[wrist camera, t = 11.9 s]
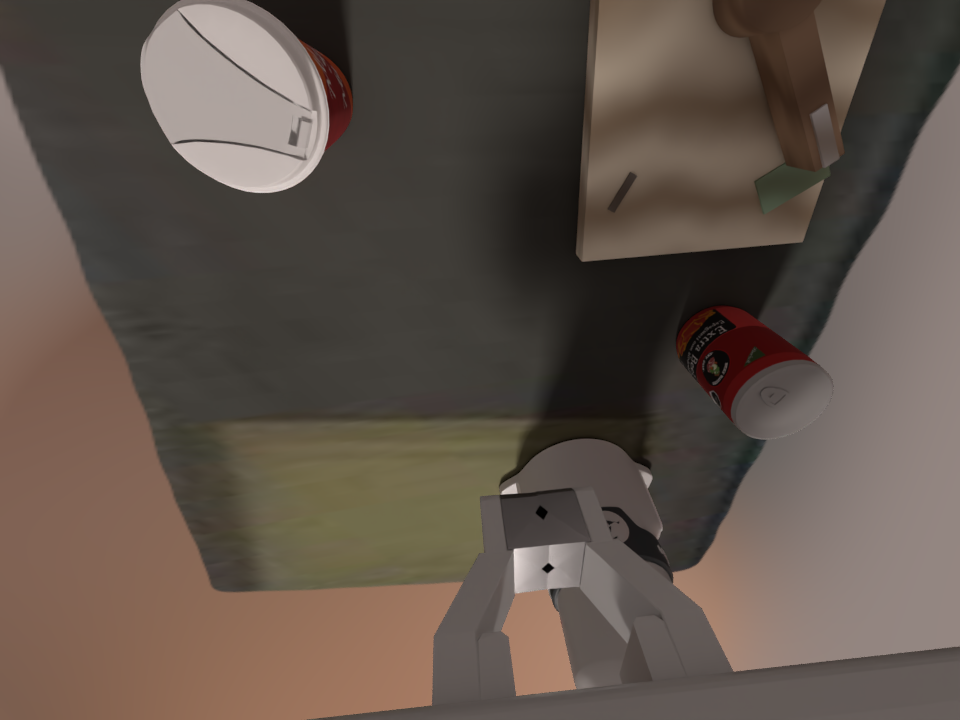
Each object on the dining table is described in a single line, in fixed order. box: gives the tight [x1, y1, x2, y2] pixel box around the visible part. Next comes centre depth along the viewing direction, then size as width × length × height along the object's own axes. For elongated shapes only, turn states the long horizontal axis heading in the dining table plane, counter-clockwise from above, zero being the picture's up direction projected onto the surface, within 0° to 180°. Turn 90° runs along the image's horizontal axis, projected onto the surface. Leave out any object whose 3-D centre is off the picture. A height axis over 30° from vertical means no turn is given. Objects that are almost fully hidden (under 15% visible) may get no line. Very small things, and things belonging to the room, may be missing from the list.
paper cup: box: [141, 0, 353, 193], centre depth 24 cm, size 8×8×14 cm
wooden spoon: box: [712, 0, 845, 172], centre depth 27 cm, size 14×5×4 cm, turn 36°
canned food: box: [676, 306, 834, 439], centre depth 39 cm, size 8×8×11 cm
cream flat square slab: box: [576, 0, 886, 262], centre depth 32 cm, size 20×19×2 cm
